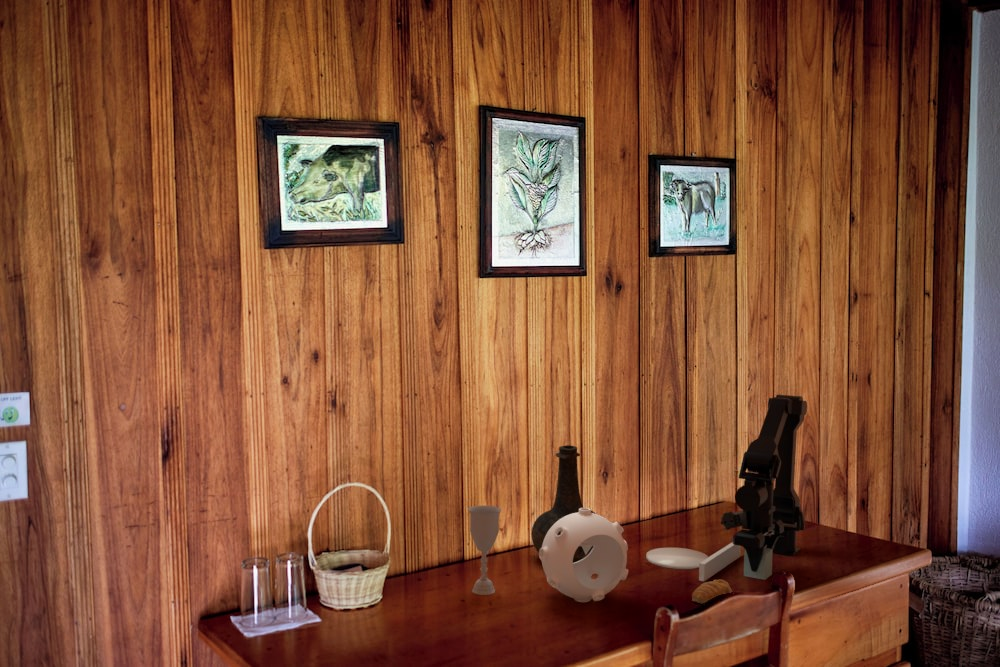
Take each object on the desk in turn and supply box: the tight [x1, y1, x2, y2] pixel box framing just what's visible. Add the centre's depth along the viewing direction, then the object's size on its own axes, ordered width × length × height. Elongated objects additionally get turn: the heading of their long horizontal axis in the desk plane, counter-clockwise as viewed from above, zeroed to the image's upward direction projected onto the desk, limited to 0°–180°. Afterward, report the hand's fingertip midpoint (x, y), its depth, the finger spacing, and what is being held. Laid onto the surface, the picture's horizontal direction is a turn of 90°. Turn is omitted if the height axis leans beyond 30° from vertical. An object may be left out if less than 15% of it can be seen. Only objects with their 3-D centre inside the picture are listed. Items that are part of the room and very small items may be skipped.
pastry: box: [691, 579, 733, 605], centre depth 201 cm, size 9×7×4 cm
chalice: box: [467, 505, 502, 596], centre depth 204 cm, size 7×7×18 cm
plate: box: [645, 547, 709, 570], centre depth 229 cm, size 15×15×1 cm
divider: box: [698, 541, 742, 582], centre depth 223 cm, size 24×1×4 cm, turn 146°
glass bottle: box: [531, 444, 597, 563], centre depth 226 cm, size 18×18×28 cm
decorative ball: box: [538, 507, 629, 603], centre depth 199 cm, size 20×17×20 cm
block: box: [743, 548, 774, 581], centre depth 218 cm, size 5×5×6 cm
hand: (758, 568), depth 218 cm, fingers closed on block, 5 cm apart
